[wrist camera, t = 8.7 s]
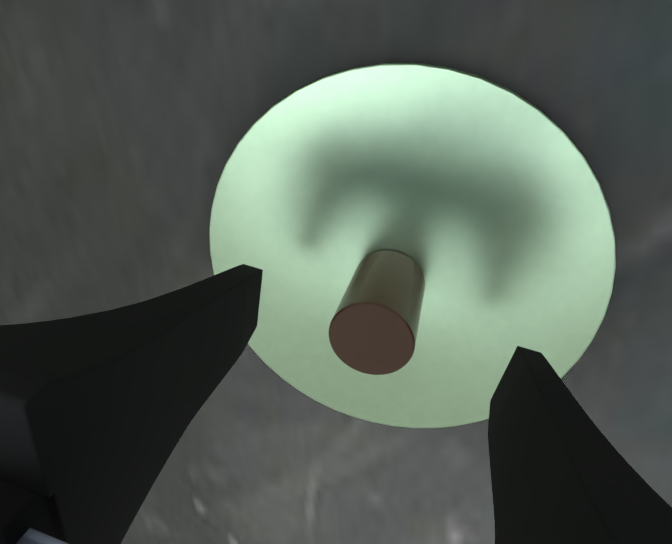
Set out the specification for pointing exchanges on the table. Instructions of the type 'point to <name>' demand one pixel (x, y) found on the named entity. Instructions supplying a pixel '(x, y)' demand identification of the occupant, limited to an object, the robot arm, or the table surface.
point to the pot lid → (413, 241)
